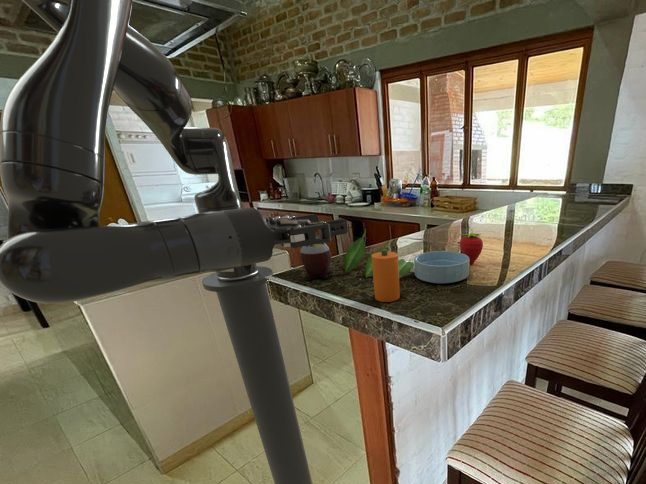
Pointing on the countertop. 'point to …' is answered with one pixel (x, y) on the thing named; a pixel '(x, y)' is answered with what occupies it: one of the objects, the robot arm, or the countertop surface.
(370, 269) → the leaves
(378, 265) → the vegetable
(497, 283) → the countertop surface
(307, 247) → the mate gourd
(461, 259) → the bowl
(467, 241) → the strawberry
